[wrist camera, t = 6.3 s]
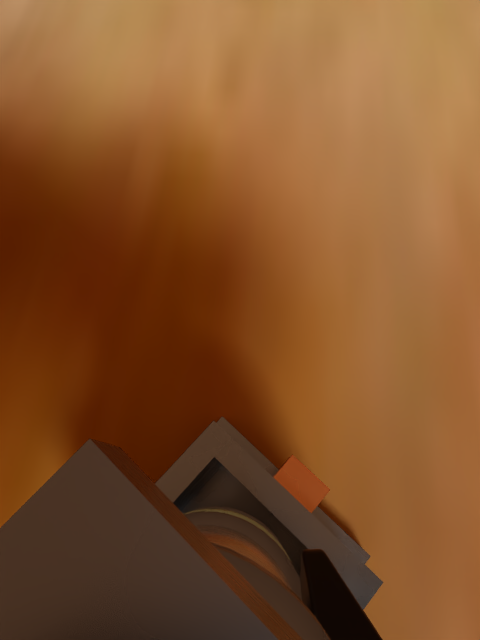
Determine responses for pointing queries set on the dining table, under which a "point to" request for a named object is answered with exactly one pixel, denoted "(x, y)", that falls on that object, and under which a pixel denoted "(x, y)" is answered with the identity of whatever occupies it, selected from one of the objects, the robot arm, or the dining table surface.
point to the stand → (266, 500)
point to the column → (141, 564)
